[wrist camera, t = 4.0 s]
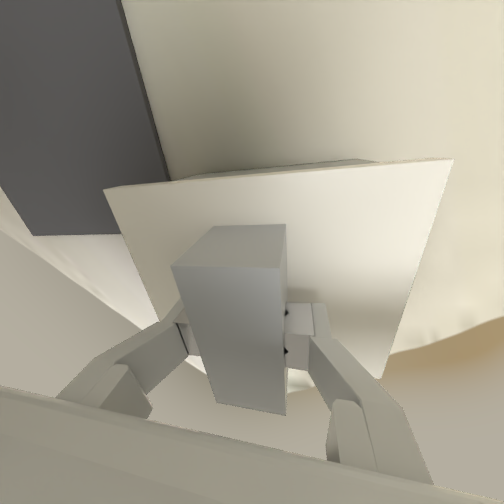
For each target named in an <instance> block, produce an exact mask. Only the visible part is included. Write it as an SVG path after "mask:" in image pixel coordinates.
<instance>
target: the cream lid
mask: <svg viewBox="0 0 504 504" xmlns="http://www.w3.org/2000/svg"><path fill="white" fill-rule="evenodd" d="M453 162H454V159H446V158H425V159H414V160H403V161H392V162H381V163H370V164H359V165H348V166H337V167H325V168H314V169H303V170H292V171H281V172H270V173H259V174H248V175H237V176H226V177H215V178H204V179H193V180H182V181H170V182H159V183H148V184H137V185H126V186H118V187H113V188H109V189H104V190H103V192H104V194H105V196H106V199H107V201H108V203H109V205H110V208H111V210H112V212H113V215H114V217H115V219H116V222H117V224H118V226H119V229H120V231H121V233H122V235H123V238H124V240H125V242H126V245H127V247H128V249H129V252H130V254H131V256H132V259H133V261H134V263H135V266H136V268H137V270H138V272H139V275H140V277H141V279H142V282H143V284H144V286H145V289H146V291H147V293H148V296H149V298H150V300H151V302H152V305H153V307H154V309H155V312H156V314H157V316H158V319H159V321H160V322H161V321H162V320H163V319H164V318H165V316H166V315H167V314H168V312H169V311H170V310H171V309H172V307H173V306H174V305H175V304H176V302H177V301H178V300H179V299H180V297H181V299H182V302H183V305H184V308H185V311H186V314H187V317H188V320H189V323H190V326H191V329H192V332H193V335H194V338H195V341H196V344H197V346H198V349H199V352H200V355H201V358H202V361H203V364H204V367H205V370H206V373H207V376H208V379H209V382H210V385H211V388H212V391H213V394H214V397H215V400H216V402H217V403H221V404H226V405H232V406H237V407H242V408H247V409H252V410H258V411H263V412H269V413H273V414H279V415H284V416H286V403H287V379H288V368H286V367H285V358H284V354H285V347H284V319H285V306H286V301H288V302H307V303H325V305H326V309H327V314H328V319H329V324H330V330H331V335H332V338H334V339H337V340H338V341H339V342H340V343H341V344H342V345H343V346H344V347H345V348H346V349H347V350H348V351H349V352H350V353H351V354H352V355H353V356H354V357H355V359H356V360H357V361H358V362H359V363H360V364H361V365H362V366H363V367H364V368H365V369H366V370H367V371H368V372H369V373H370V374H371V375H372V376H373V377H374V378H379V379H381V377H382V374H383V371H384V368H385V365H386V362H387V359H388V356H389V353H390V350H391V347H392V344H393V341H394V338H395V335H396V332H397V329H398V326H399V323H400V320H401V318H402V315H403V312H404V309H405V306H406V303H407V300H408V297H409V294H410V291H411V288H412V285H413V282H414V279H415V276H416V273H417V270H418V267H419V264H420V261H421V258H422V255H423V252H424V249H425V246H426V243H427V240H428V237H429V234H430V231H431V228H432V225H433V222H434V219H435V216H436V213H437V210H438V207H439V204H440V201H441V198H442V195H443V192H444V189H445V186H446V183H447V180H448V177H449V174H450V171H451V168H452V165H453Z"/></svg>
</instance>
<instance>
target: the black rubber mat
mask: <svg viewBox="0 0 504 504" xmlns="http://www.w3.org/2000/svg"><path fill="white" fill-rule="evenodd" d="M159 182H170V178H169V175H168V171H167V167H166V164H165V160H164V156H163V153H162V149H161V146H160V142H159V138H158V135H157V131H156V127H155V124H154V120H153V117H152V113H151V109H150V106H149V102H148V98H147V95H146V91H145V88H144V84H143V80H142V77H141V73H140V69H139V66H138V62H137V59H136V55H135V51H134V48H133V44H132V40H131V37H130V33H129V29H128V26H127V22H126V19H125V15H124V11H123V8H122V4H121V0H0V186H1V188H2V189H3V191H4V192H5V194H6V196H7V197H8V199H9V200H10V202H11V203H12V205H13V206H14V208H15V209H16V211H17V212H18V214H19V215H20V217H21V218H22V220H23V221H24V223H25V224H26V226H27V227H28V229H29V231H30V232H31V234H32V235H33V236H46V235H91V234H122V233H121V231H120V229H119V226H118V224H117V222H116V219H115V217H114V215H113V212H112V210H111V208H110V205H109V203H108V201H107V199H106V196H105V194H104V192H103V190H104V189H109V188H113V187H118V186H126V185H137V184H148V183H159Z"/></svg>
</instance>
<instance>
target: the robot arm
mask: <svg viewBox="0 0 504 504" xmlns="http://www.w3.org/2000/svg"><path fill="white" fill-rule="evenodd" d="M284 347H285V354H284V358H285V367H286V368H292V369H298V370H304V371H308V373H309V375H310V376H311V378H312V380H313V382H314V383H315V385H316V387H317V388H318V390H319V392H320V394H321V396H322V397H323V399H324V401H325V403H326V404H327V406H328V408H329V409H330V411H331V416H330V422H329V428H328V434H327V440H326V455H327V460H322V459H318V458H314V457H309V456H305V455H300V454H296V453H291V452H287V451H283V450H279V449H275V448H270V447H266V446H261V445H257V444H253V443H248V442H243V441H240V440H235V439H231V438H226V437H222V436H218V435H214V434H209V433H205V432H201V431H196V430H192V429H187V428H183V427H179V426H174V425H170V424H166V423H162V422H157V421H153V420H149V419H147V418H148V417H149V415H150V413H151V411H152V409H153V407H152V403H151V402H150V400H149V398H148V397H147V396H146V395H147V394H148V393H149V392H150V391H151V390H152V389H153V388H154V387H155V386H157V385H158V384H159V383H160V382H161V381H162V380H163V379H164V378H165V377H166V376H167V375H168V374H169V373H171V372H172V371H173V370H174V369H175V368H176V367H177V366H178V365H179V364H180V363H182V362H183V361H184V360H185V359H186V358H187V357H188V355H194V356H201V355H200V352H199V349H198V346H197V344H196V341H195V338H194V335H193V332H192V329H191V326H190V323H189V320H188V317H187V314H186V311H185V308H184V305H183V302H182V299H181V297H180V299H179V300H178V301H177V302H176V304H175V305H174V306H173V307H172V309H171V310H170V311H169V312H168V314H167V315H166V316H165V318H164V319H163V320H162V321H161V322H156V323H155V324H153V325H151V326H149V327H148V328H146V329H144V330H142V331H141V332H139V333H137V334H135V335H134V336H132V337H130V338H128V339H127V340H125V341H123V342H121V343H120V344H118V345H116V346H114V347H113V348H111V349H109V350H107V351H106V352H104V353H102V354H100V355H99V356H97V357H95V358H94V359H93V360H92V361H91V362H90V363H89V364H88V365H87V366H86V367H85V368H84V369H83V370H82V371H81V372H80V373H79V374H78V375H77V376H76V377H75V378H74V379H73V380H72V381H71V382H70V383H69V384H68V385H67V386H66V387H65V388H64V389H63V390H62V391H61V392H60V394H58V396H57V397H56V398H53V397H48V396H44V395H40V394H36V393H31V392H27V391H23V390H18V389H14V388H10V387H5V386H1V385H0V504H504V501H500V500H496V499H492V498H487V497H483V496H478V495H474V494H470V493H465V492H461V491H457V490H453V489H448V488H444V487H440V486H435V485H434V483H433V481H432V479H431V476H430V474H429V471H428V469H427V467H426V464H425V461H424V459H423V457H422V454H421V452H420V450H419V447H418V444H417V442H416V440H415V437H414V435H413V433H412V430H411V428H410V425H409V423H408V420H407V418H406V415H405V413H404V410H403V408H402V407H401V406H400V405H399V404H398V403H397V402H396V401H395V400H394V399H393V398H392V397H391V395H390V394H389V393H388V392H387V391H386V390H385V389H384V388H383V387H382V386H381V385H380V384H379V383H378V382H377V381H376V380H375V379H374V377H373V376H372V375H371V374H370V373H369V372H368V371H367V370H366V369H365V368H364V367H363V366H362V365H361V364H360V363H359V362H358V361H357V360H356V359H355V357H354V356H353V355H352V354H351V353H350V352H349V351H348V350H347V349H346V348H345V347H344V346H343V345H342V344H341V343H340V342H339V341H338V340H337V339H334V338H332V335H331V330H330V324H329V319H328V314H327V309H326V305H325V303H307V302H288V301H286V306H285V319H284Z"/></svg>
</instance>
